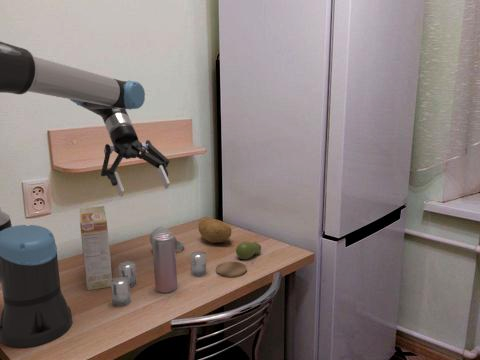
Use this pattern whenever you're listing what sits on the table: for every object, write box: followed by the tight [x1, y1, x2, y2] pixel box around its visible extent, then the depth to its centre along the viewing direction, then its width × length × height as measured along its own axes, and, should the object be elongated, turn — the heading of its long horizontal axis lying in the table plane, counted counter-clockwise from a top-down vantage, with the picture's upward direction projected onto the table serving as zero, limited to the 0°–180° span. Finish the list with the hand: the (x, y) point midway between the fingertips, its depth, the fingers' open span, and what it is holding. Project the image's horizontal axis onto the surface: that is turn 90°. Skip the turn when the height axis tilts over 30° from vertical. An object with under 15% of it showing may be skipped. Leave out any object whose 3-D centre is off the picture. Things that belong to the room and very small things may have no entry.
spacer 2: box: [190, 250, 207, 278], centre depth 125 cm, size 4×4×6 cm
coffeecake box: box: [79, 205, 113, 291], centre depth 121 cm, size 15×7×20 cm, turn 20°
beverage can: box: [151, 233, 178, 294], centre depth 114 cm, size 6×6×15 cm
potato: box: [197, 217, 233, 244], centre depth 150 cm, size 10×14×8 cm
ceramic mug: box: [149, 226, 185, 251], centre depth 142 cm, size 11×8×8 cm
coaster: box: [215, 261, 247, 278], centre depth 126 cm, size 9×9×1 cm
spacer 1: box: [111, 276, 132, 307], centre depth 108 cm, size 4×4×6 cm
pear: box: [235, 241, 262, 260], centre depth 137 cm, size 6×5×10 cm
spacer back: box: [118, 260, 137, 289], centre depth 118 cm, size 4×4×6 cm
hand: (145, 189), depth 119 cm, fingers open, 13 cm apart
